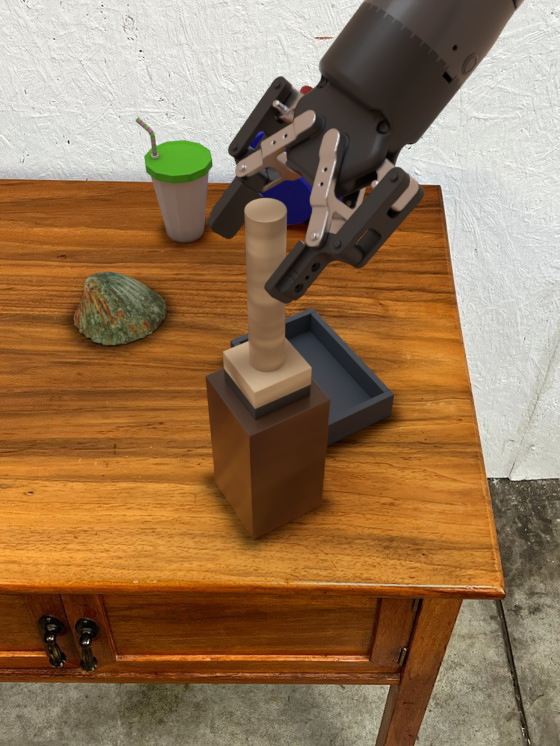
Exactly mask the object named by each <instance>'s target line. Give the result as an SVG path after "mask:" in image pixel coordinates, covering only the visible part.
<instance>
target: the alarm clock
mask: <svg viewBox="0 0 560 746" xmlns="http://www.w3.org/2000/svg"><path fill="white" fill-rule="evenodd" d="M313 88H314V87H312V86H311V85H302V86H301V88H300V89H299V91H300V92H301V93H302V94H304V95H305V94H306V93H308V92H309V91H311V90H312V89H313ZM263 135H264V132H263V131H261V132H259V133H258V135H257V136H256V138H255V139H254V140H253V142H252V143H251V145H250V147H251V148H253V149H255V147H256V146H257V144H258V143H259V142H260V140H261V139H262V137H263ZM286 151H287V150H286ZM286 151H285V152H286ZM268 168H270V167H268ZM268 168H265V170H267V169H268ZM311 192H312V187H311V186H310V185H309V184H308V183H307V182H305V180H304V178H303V177H301V178H299V179H297V180H294V181H289V180H286V181H283V182H282V183H280V184H278V185H276V186H274V187H273V188H271V189H269V190H267V191H265V192H261V191H260V192H259V193H260V194H261V195H262V196H263V197H264V198H271V199H276V200H278V201H280V202H282V203H283V204H284V205H285V206H286V208H287V226H294V225H299V224H302V223H303V224H304V225H306V226H307V227H308V225H309V222H310V218H311V214H312V207H311V205H310V196H311ZM338 200H339V201H341V200H342V198H339V199H338ZM330 224H331V223H330ZM329 228H330V227H329ZM328 232H329V231H328Z"/></svg>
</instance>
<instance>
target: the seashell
mask: <svg viewBox="0 0 560 746" xmlns="http://www.w3.org/2000/svg"><path fill="white" fill-rule="evenodd" d="M81 294H82V295H81V298H80V303H79V305H78V306H77V308H76V310H75V312H74V315H73V323H74V324H73V325H74V327H75V328H77V329H78V331H79V334H80V335H81V334H82V335H84V336H85V338H87V339H88V338H89V339H91V342H93V343H97V344H102V345H103V346H107V347H108V346H119V345H128V344H129V343H131V342H132V343H133V342H136V341H137V340H139V339H144V338H146V337H147V336H150V335H151V334H153V332H154V331H156V330H157V329H158V328H159V327H160V326H161V325H162V321H164V320H165V319H166V316H167V314H168V312H167V305H166V301H165V300H164V299H163V297H162V296H161V295H160V294H159V293H157V292H156V291H154V290H152V289H151V288H150V287H148V286H146V285H145V284H144V283H142V282H141V281H140V280H137V279H135V278H133V277H131V276H129V275H126V274H123V273H120V272H116V271H101V272H96V273H94V274H91V275H89V276H88V277H87V278H86V279H85V280H84V282H83V286H82V293H81Z"/></svg>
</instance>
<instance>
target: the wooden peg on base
mask: <svg viewBox="0 0 560 746" xmlns="http://www.w3.org/2000/svg"><path fill="white" fill-rule="evenodd" d="M244 214H245V223H244V240H245V241H244V242H245V244H244V245H245V271H246V272H245V273H246V274H245V275H246V304H247V305H246V306H247V307H246V308H247V334H248V342H245V343H243V344H240V345H238V346H235V347H233V348H231V347H230V348H228V349H226V350H223V351H222V360H223V368H224V377H225V380H226V382H227V383H228V384H229V386H230V387H231V388H232V390H233V391H234V392H235V394H236V395H237V396H238V397H239V399H240V400H241V401H242V403H243V404H244V405H245V407H246V408H247V409H248V411H249V412H250V413H251V415H252V416H253V417H254V419H255V420H256V419H258V418H261V417H263V416H265V415H267V414H270V413H272V412H274V411H276V410H279V409H281V408H283V407H285V406H287V405H290V404H292V403H294V402H296V401H299V400H301V399H303V398H305V397H308V396H310V392H311V372H312V368H311V366H310V365H309V364H308V363H307V362H306V361H305V360H304V358H303V357H302V356H301V355H300V354H299V353H298V352H297V350H296V349H295V348H294V347H293V346H292V345H291V344H290V342H289V341H288V340H287V339H286V338H285V318H286V304H284V303H282V302H280V301H278V300H276V299H274V298H272V297H271V296H270V295H269V294H268V293H267V292H266V290H265V289H264V286H265V283H266V282H267V281H268V279H269V278H270V277H271V275H272V274H273V273H274V272H275V270H276V269H277V268H278V266H279V265H280V264H281V263H282V261H283V260H284V259H285V257H286V256H287V233H288V232H287V230H288V229H287V228H288V227H287V226H288V225H287V208H286V206H285V205H284V204H283V203H282V202H280V201H278V200H276V199H271V198H260V199H256V200H253V201H251V202H249V203H248V204H247V205H246V207H245V210H244Z"/></svg>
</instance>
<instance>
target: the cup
mask: <svg viewBox="0 0 560 746" xmlns="http://www.w3.org/2000/svg"><path fill="white" fill-rule="evenodd" d="M135 122H136V123H137V124H138V126H140V127H141V128H142V129H144V130H145V131H146V132H147V133H148V135H149V137H150V145H151V148H150V149H149V150H148V151H147V152H146V153H145V154H144V156H143V158H144V165H145V173H146V174H147V175H149V176H150V179H151V182H152V185H153V189H154V193H155V195H156V199H157V203H158V206H159V210H160V214H161V216H162V219H163V224H164V228H165V231H166V235H167V237H168V238H169V239H170V240H172V241H173V242H177V243H182V244H183V243H192V242H194V241H197V240H199V239H201V237H202V236H203V235H204V234H205V223H206V211H207V200H208V199H207V198H208V185H209V175H210V171H211V169H212V168H213V158H212V152H211V150H210V149H209V148H208V147H206V146H204V145H203V144H201V143H200V142H195V141H190V140H185V139H181V140H169V141H165V142H162V143H160V144H157V140H156V134H155V132H154V130H153V129H152V128H151V127H150V126H149V125H148V124H147V123H146V122H145V121H144V120H143V119H141V118H140V117H139V116H137V117H136V119H135Z"/></svg>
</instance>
